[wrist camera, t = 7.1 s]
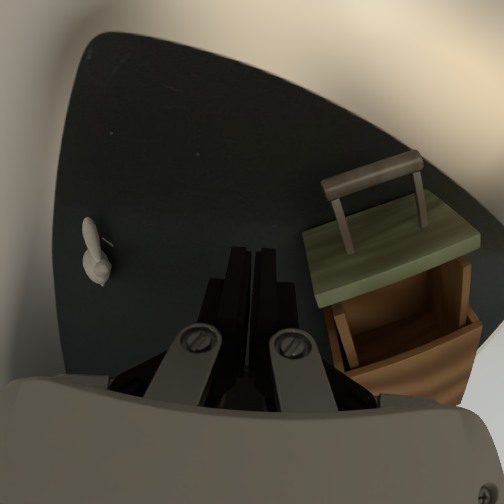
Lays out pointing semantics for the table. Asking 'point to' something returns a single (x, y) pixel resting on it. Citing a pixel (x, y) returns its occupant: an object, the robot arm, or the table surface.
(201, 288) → the table surface
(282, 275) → the table surface
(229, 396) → the travel mug
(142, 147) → the table surface
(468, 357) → the cabinet
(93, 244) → the rabbit figurine
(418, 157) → the drawer
